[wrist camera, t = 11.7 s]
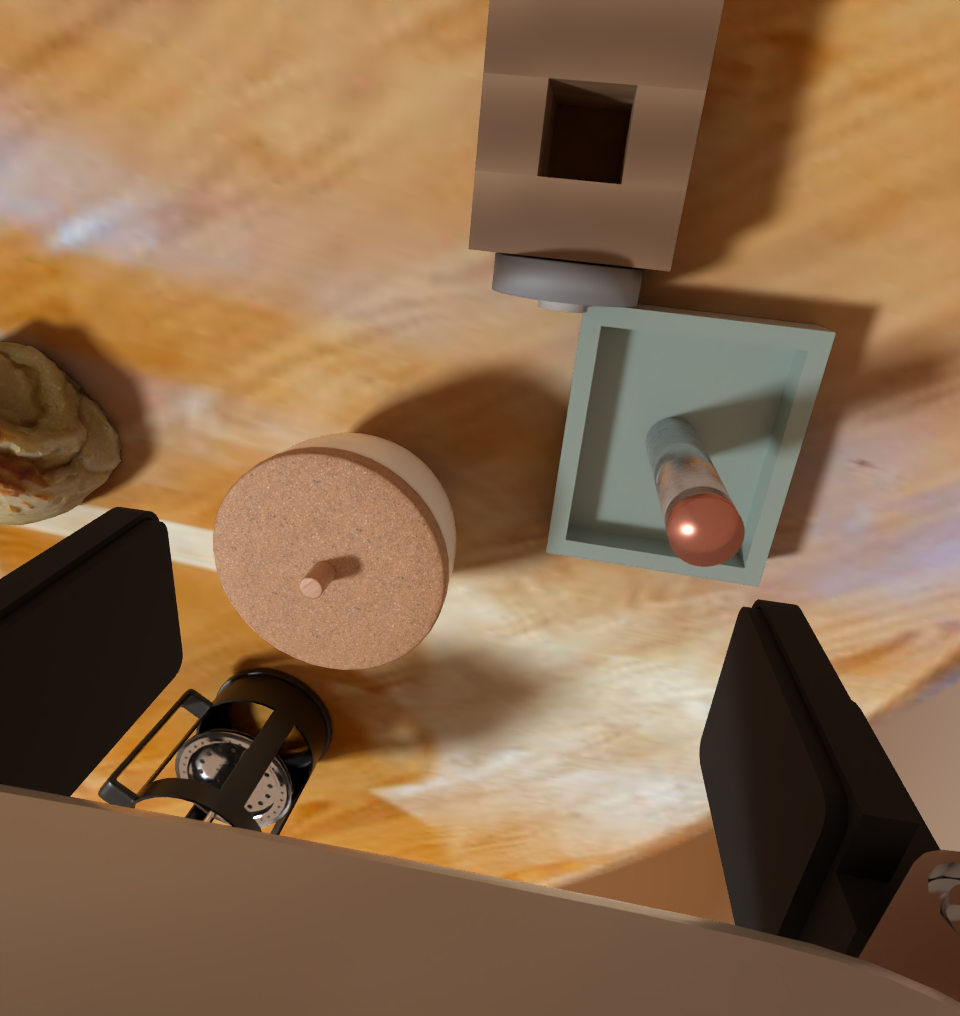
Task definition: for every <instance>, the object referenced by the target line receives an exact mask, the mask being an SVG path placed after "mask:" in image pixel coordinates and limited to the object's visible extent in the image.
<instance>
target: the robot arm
mask: <svg viewBox="0 0 960 1016" xmlns="http://www.w3.org/2000/svg"><path fill="white" fill-rule="evenodd" d="M182 658H183V652H182V643H181V635H180V627H179V619H178V611H177V603H176V595H175V587H174V579H173V570H172V562H171V554H170V546H169V538H168V531H167V527H166V525H165V524H164V523H163V522H160V521H159V519H158V517H157V516H156V514H155V513H153V512H151V511H144V510H137V509H130V508H123V507H115V508H113V509H111V510H109V511H108V512H106V513H105V514H103V515H101V516H100V517H98V518H97V519H95V520H93V521H92V522H90V523H89V524H87V525H85V526H84V527H82V528H81V529H79V530H78V531H76V532H74V533H73V534H71V535H70V536H68V537H66V538H65V539H63V540H62V541H60V542H58V543H57V544H55V545H54V546H52V547H51V548H49V549H47V550H46V551H44V552H43V553H41V554H39V555H38V556H36V557H35V558H33V559H31V560H30V561H28V562H27V563H25V564H23V565H22V566H20V567H19V568H17V569H16V570H14V571H12V572H11V573H9V574H8V575H6V576H4V577H3V578H1V579H0V1016H960V852H958V851H949V850H940V849H939V847H938V845H937V843H936V841H935V840H934V838H933V836H932V834H931V833H930V831H929V829H928V827H927V826H926V824H925V822H924V820H923V819H922V817H921V815H920V813H919V811H918V810H917V808H916V806H915V804H914V802H913V801H912V799H911V797H910V796H909V794H908V792H907V790H906V788H905V787H904V785H903V783H902V781H901V779H900V778H899V776H898V774H897V772H896V771H895V769H894V767H893V765H892V764H891V762H890V760H889V758H888V756H887V755H886V753H885V751H884V749H883V748H882V746H881V744H880V742H879V741H878V739H877V737H876V735H875V733H874V732H873V730H872V728H871V726H870V725H869V723H868V721H867V719H866V718H865V716H864V714H863V712H862V710H861V709H860V708H859V707H858V705H857V704H856V703H855V702H853V701H852V700H851V699H850V697H849V695H848V693H847V691H846V690H845V688H844V686H843V684H842V682H841V681H840V679H839V677H838V675H837V673H836V672H835V670H834V668H833V666H832V665H831V663H830V661H829V659H828V657H827V656H826V654H825V652H824V650H823V648H822V647H821V645H820V643H819V641H818V639H817V638H816V636H815V634H814V632H813V630H812V629H811V627H810V625H809V623H808V621H807V620H806V618H805V616H804V614H803V612H802V611H801V609H800V608H799V606H798V605H794V604H787V603H780V602H773V601H766V600H759V599H758V600H757V601H755V603H754V604H753V606H752V608H750V607H742V608H741V610H740V611H739V614H738V617H737V620H736V623H735V627H734V630H733V634H732V637H731V640H730V644H729V647H728V650H727V654H726V657H725V661H724V664H723V667H722V671H721V674H720V677H719V681H718V684H717V687H716V691H715V694H714V698H713V701H712V704H711V708H710V711H709V714H708V718H707V721H706V724H705V728H704V731H703V735H702V738H701V742H700V765H701V770H702V774H703V779H704V784H705V788H706V793H707V797H708V802H709V807H710V811H711V816H712V820H713V825H714V830H715V834H716V839H717V843H718V848H719V853H720V857H721V862H722V866H723V871H724V875H725V880H726V885H727V889H728V894H729V898H730V903H731V908H732V912H733V917H734V921H735V925H731V924H726V923H722V922H717V921H713V920H708V919H704V918H699V917H695V916H690V915H685V914H680V913H675V912H670V911H665V910H660V909H655V908H650V907H645V906H641V905H636V904H631V903H626V902H622V901H617V900H612V899H608V898H603V897H597V896H592V895H587V894H582V893H577V892H571V891H566V890H561V889H556V888H551V887H546V886H541V885H536V884H530V883H525V882H520V881H515V880H510V879H505V878H499V877H494V876H489V875H484V874H479V873H474V872H469V871H463V870H458V869H453V868H448V867H443V866H438V865H433V864H427V863H422V862H417V861H412V860H407V859H401V858H396V857H391V856H386V855H380V854H375V853H370V852H364V851H359V850H354V849H349V848H343V847H338V846H333V845H327V844H322V843H317V842H312V841H306V840H301V839H296V838H290V837H285V836H280V835H274V834H269V833H264V832H258V831H253V830H248V829H242V828H237V827H232V826H226V825H221V824H216V823H210V822H205V821H199V820H194V819H189V818H183V817H178V816H173V815H167V814H162V813H156V812H151V811H145V810H140V809H134V808H129V807H123V806H118V805H112V804H107V803H101V802H96V801H90V800H85V799H79V798H74V797H70V796H71V795H72V794H73V792H74V791H75V790H76V789H77V788H78V787H79V786H80V784H81V783H82V782H83V781H84V780H85V779H86V778H87V776H88V775H89V774H90V773H91V772H92V771H93V770H94V768H95V767H96V766H97V765H98V764H99V763H100V762H101V761H102V759H103V758H104V757H105V756H106V755H107V754H108V753H109V751H110V750H111V749H112V748H113V747H114V746H115V745H116V743H117V742H118V741H119V740H120V739H121V738H122V737H123V735H124V734H125V733H126V732H127V731H128V730H129V729H130V727H131V726H132V725H133V724H134V723H135V722H136V721H137V719H138V718H139V717H140V716H141V715H142V714H143V713H144V711H145V710H146V709H147V708H148V707H149V706H150V705H151V703H152V702H153V701H154V700H155V699H156V698H157V697H158V695H159V694H160V693H161V692H162V691H163V690H164V689H165V687H166V686H167V685H168V684H169V683H170V682H171V681H172V679H173V678H174V677H175V676H176V674H177V673H178V671H179V669H180V667H181V663H182Z"/></svg>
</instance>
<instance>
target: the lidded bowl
mask: <svg viewBox="0 0 960 1016" xmlns="http://www.w3.org/2000/svg"><path fill="white" fill-rule="evenodd" d="M213 551H214V557H215V563H216V569H217V572H218V575H219V578H220V581H221V583H222V586H223V588H224V590H225V592H226V594H227V596H228V598H229V600H230V602H231V603H232V605H233V606H234V608H235V609H236V611H237V612H238V613H239V615H240V616H241V617H242V618H243V619H244V621H245V622H246V623H247V624H248V625H249V626H250V628H251V629H253V630H254V631H255V632H256V633H257V634H258V635H260V636H261V637H262V638H263V639H264V640H266V641H267V642H268V643H270V644H271V645H273V646H274V647H275V648H277V649H278V650H280V651H282V652H284V653H286V654H288V655H290V656H292V657H294V658H296V659H299V660H301V661H304V662H306V663H309V664H312V665H317V666H321V667H326V668H332V669H341V670H353V669H366V668H371V667H377V666H380V665H383V664H386V663H389V662H392V661H394V660H396V659H398V658H400V657H402V656H403V655H405V654H407V653H408V652H410V651H411V650H412V649H413V648H415V647H416V646H417V645H418V644H420V643H421V641H422V640H423V639H424V638H425V637H426V636H427V634H428V633H429V632H430V631H431V629H432V627H433V626H434V624H435V622H436V620H437V619H438V617H439V614H440V612H441V609H442V606H443V603H444V601H445V598H446V594H447V588H448V584H449V581H450V578H451V575H452V572H453V566H454V560H455V553H456V525H455V520H454V514H453V510H452V507H451V504H450V502H449V499H448V496H447V494H446V493H445V491H444V489H443V487H442V485H441V483H440V482H439V480H438V479H437V478H436V476H435V475H434V474H433V472H432V471H431V470H430V468H429V467H428V466H427V465H425V464H424V463H423V462H422V461H421V460H420V459H419V458H418V457H417V456H415V455H414V454H413V453H411V452H410V451H409V450H407V449H405V448H403V447H402V446H400V445H398V444H396V443H394V442H391V441H388V440H386V439H383V438H380V437H377V436H372V435H368V434H363V433H339V434H330V435H323V436H320V437H316V438H313V439H309V440H306V441H303V442H301V443H298V444H296V445H294V446H292V447H290V448H288V449H286V450H284V451H282V452H281V453H279V454H276V455H274V456H272V457H270V458H268V459H266V460H264V461H262V462H260V463H259V464H257V465H256V466H254V467H253V468H252V469H250V470H249V471H248V472H246V473H245V474H244V475H242V476H241V477H240V478H239V479H238V480H237V482H236V483H235V484H234V485H233V486H232V487H231V488H230V490H229V491H228V493H227V495H226V496H225V498H224V500H223V501H222V503H221V506H220V509H219V511H218V514H217V517H216V521H215V527H214V533H213Z"/></svg>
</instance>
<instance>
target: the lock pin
mask: <svg viewBox="0 0 960 1016" xmlns="http://www.w3.org/2000/svg"><path fill="white" fill-rule="evenodd" d="M646 450H647V454H648V458H649V462H650V466H651V470H652V474H653V478H654V482H655V486H656V490H657V494H658V498H659V503H660V507H661V511H662V515H663V519H664V523H665V527H666V531H667V535H668V539H669V543H670V546H671V548H672V550H673V552H674V553H675V554H676V555H677V556H678V557H679V558H680V559H681V560H683V561H684V562H686V563H688V564H691V565H694V566H700V567H709V566H715V565H718V564H721V563H723V562H725V561H727V560H729V559H730V558H731V557H733V556H734V555H735V554H736V553H737V552H738V550H739V549H740V547H741V545H742V543H743V540H744V536H745V528H744V523H743V521H742V518H741V516H740V515H739V513H738V511H737V509H736V507H735V505H734V503H733V501H732V499H731V497H730V495H729V493H728V492H727V490H726V488H725V486H724V484H723V482H722V480H721V478H720V476H719V474H718V472H717V471H716V469H715V467H714V465H713V463H712V461H711V459H710V457H709V455H708V453H707V451H706V449H705V448H704V446H703V444H702V442H701V440H700V438H699V436H698V434H697V432H696V430H695V429H694V427H693V426H692V425H691V424H690V423H689V422H688V421H686V420H684V419H681V418H677V417H669V418H665V419H662V420H660V421H658V422H657V423H655V424H654V425H653V426H652V427H651V428H650V430H649V432H648V434H647V436H646Z"/></svg>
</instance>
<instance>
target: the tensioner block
mask: <svg viewBox="0 0 960 1016" xmlns="http://www.w3.org/2000/svg"><path fill="white" fill-rule="evenodd" d="M723 5H724V0H490V2H489V14H488V26H487V38H486V49H485V61H484V73H483V85H482V97H481V109H480V121H479V132H478V144H477V156H476V168H475V180H474V192H473V203H472V215H471V227H470V239H469V249H473V250H482V251H491V252H498V253H496V254H495V264H494V274H493V284H492V289H493V290H495V291H497V292H500V293H504V294H508V295H513V296H518V297H523V298H529V299H536V300H539V301H538V307H540V308H544V309H548V310H554V311H562V312H573V313H585V312H587V309H588V306H600V307H634V306H637V304H638V298H639V293H640V288H641V282H642V277H643V271H644V269H652V270H661V271H670V270H671V265H672V260H673V255H674V250H675V245H676V240H677V235H678V230H679V225H680V220H681V215H682V210H683V205H684V200H685V195H686V190H687V185H688V180H689V175H690V170H691V165H692V160H693V155H694V150H695V145H696V140H697V135H698V130H699V125H700V120H701V115H702V110H703V105H704V100H705V95H706V90H707V85H708V80H709V75H710V70H711V65H712V60H713V55H714V50H715V45H716V40H717V35H718V30H719V25H720V20H721V15H722V10H723ZM557 104H560V105H572V106H584V107H596V108H608V109H619V110H631V114H630V120H629V126H628V132H627V138H626V144H625V150H624V157H623V163H622V169H621V175H620V181H619V184H612V183H601V182H591V181H581V180H571V179H560V178H550V177H548V173H549V165H550V157H551V148H552V140H553V132H554V124H555V116H556V108H557ZM642 268H643V269H642Z"/></svg>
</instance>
